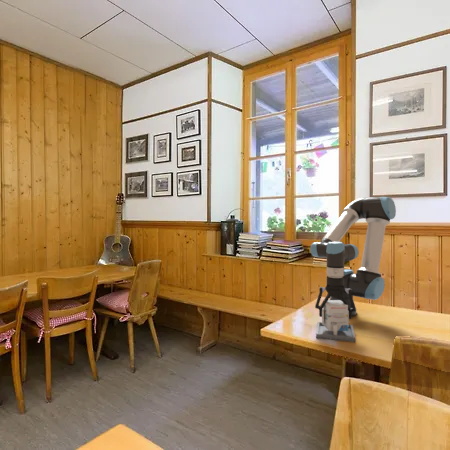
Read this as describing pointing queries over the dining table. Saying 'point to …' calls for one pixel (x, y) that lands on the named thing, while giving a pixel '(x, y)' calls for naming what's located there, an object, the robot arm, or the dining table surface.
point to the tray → (339, 336)
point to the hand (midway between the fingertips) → (335, 324)
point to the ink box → (336, 315)
